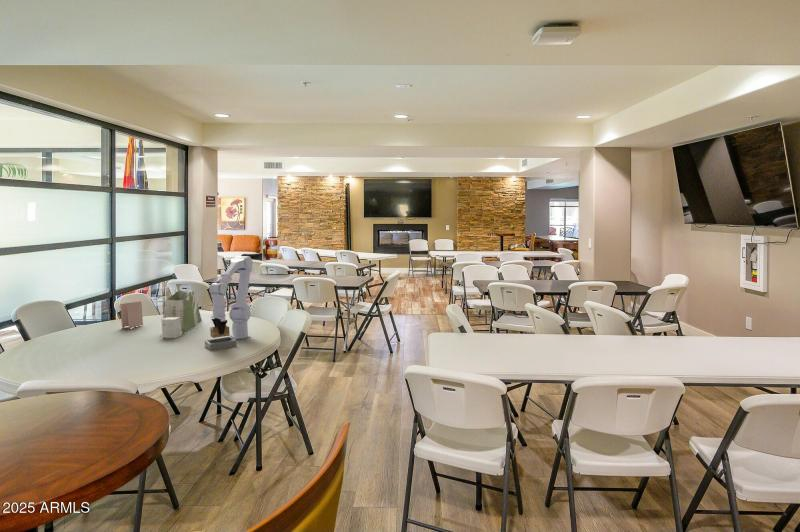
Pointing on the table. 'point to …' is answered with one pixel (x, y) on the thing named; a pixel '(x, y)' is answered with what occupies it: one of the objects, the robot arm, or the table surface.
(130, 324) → the pink upright box
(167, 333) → the small box
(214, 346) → the big crate
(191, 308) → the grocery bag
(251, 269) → the robot arm
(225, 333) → the small crate
